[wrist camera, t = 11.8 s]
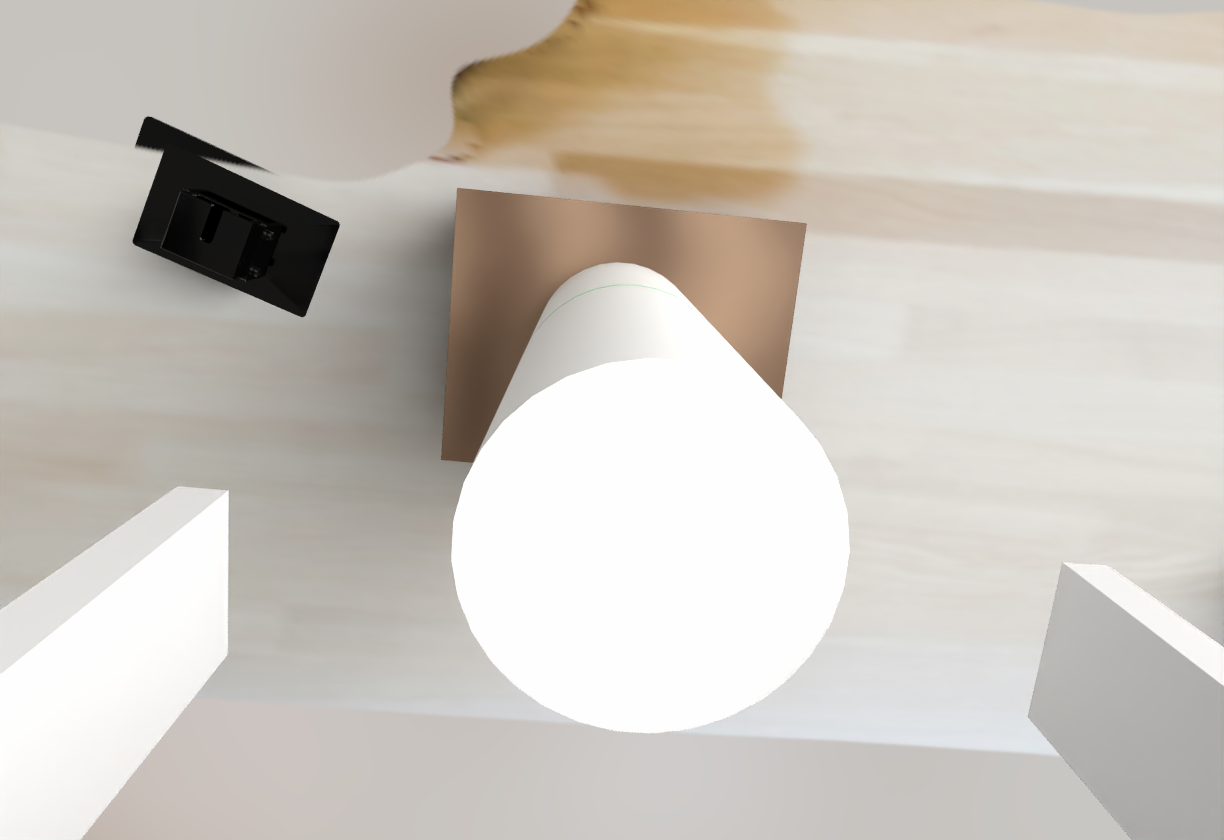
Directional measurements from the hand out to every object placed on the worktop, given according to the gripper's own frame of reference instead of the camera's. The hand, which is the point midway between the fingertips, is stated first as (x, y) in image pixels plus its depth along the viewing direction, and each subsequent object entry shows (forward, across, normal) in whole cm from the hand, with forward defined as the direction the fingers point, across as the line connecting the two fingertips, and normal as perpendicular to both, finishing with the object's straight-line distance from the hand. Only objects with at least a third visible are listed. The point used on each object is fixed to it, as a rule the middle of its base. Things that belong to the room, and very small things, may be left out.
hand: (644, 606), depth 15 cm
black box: (+36, -19, +3) cm, 41 cm away
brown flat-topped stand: (+35, 0, 0) cm, 35 cm away
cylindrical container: (+27, 0, 0) cm, 27 cm away
